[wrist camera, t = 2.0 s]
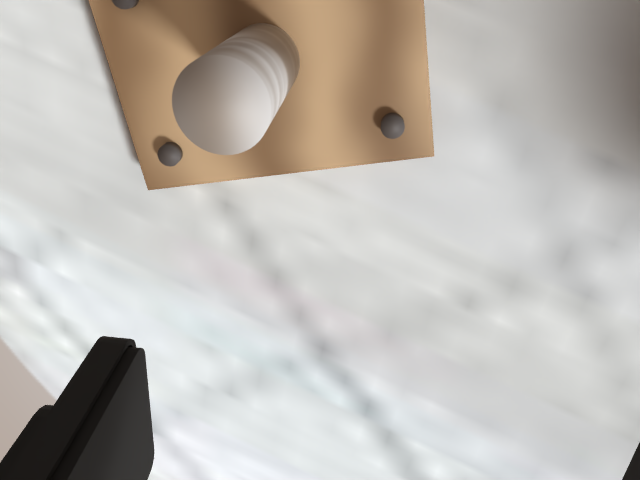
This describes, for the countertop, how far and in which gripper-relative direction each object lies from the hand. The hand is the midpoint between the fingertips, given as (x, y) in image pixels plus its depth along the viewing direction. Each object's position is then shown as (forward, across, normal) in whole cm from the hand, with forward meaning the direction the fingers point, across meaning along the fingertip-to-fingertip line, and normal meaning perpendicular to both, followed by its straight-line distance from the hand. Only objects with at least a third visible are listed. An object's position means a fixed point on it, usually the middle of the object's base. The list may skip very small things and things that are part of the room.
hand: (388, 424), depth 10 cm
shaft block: (+23, +6, -2) cm, 24 cm away
